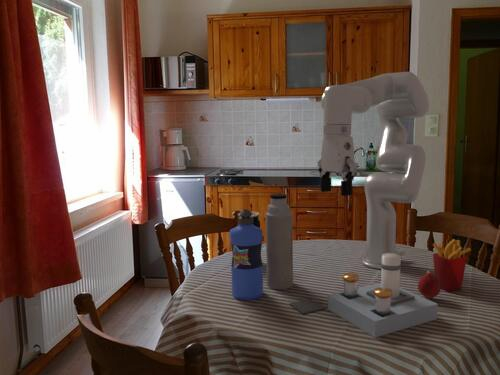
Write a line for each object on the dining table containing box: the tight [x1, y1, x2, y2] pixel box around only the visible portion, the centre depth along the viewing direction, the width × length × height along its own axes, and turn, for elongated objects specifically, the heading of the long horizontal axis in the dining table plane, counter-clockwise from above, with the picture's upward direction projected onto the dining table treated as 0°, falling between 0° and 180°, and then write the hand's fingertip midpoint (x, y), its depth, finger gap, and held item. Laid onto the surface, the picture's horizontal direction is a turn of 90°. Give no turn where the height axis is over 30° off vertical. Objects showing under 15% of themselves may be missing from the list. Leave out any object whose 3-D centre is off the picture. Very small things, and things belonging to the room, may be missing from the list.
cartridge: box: [380, 253, 402, 300], centre depth 116 cm, size 5×5×15 cm
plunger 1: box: [342, 272, 360, 300], centre depth 118 cm, size 4×4×7 cm
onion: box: [417, 270, 442, 300], centre depth 123 cm, size 6×6×8 cm
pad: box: [288, 298, 326, 315], centre depth 121 cm, size 7×7×1 cm
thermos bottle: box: [265, 193, 294, 290], centre depth 136 cm, size 8×8×28 cm
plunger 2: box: [374, 288, 392, 317], centre depth 107 cm, size 4×4×7 cm
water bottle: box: [229, 208, 264, 301], centre depth 129 cm, size 9×9×25 cm
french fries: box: [432, 238, 472, 293], centre depth 130 cm, size 9×8×15 cm
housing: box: [327, 282, 439, 339], centre depth 115 cm, size 20×18×5 cm
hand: (335, 193), depth 125 cm, fingers open, 9 cm apart
